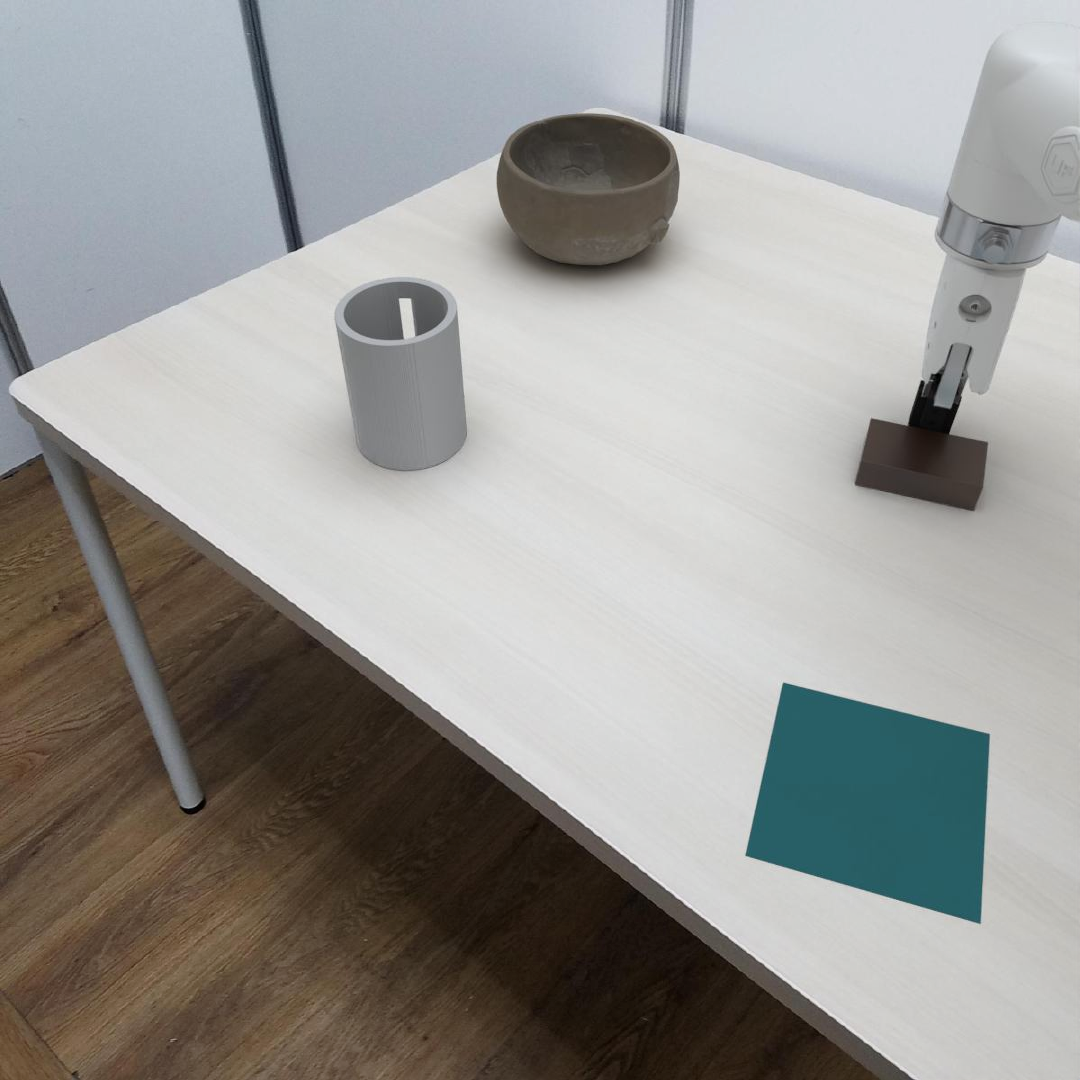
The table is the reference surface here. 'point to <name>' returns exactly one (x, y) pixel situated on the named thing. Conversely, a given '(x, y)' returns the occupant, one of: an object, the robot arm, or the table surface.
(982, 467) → the walnut block
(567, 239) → the bowl
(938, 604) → the table surface
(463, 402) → the cup
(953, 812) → the mat
